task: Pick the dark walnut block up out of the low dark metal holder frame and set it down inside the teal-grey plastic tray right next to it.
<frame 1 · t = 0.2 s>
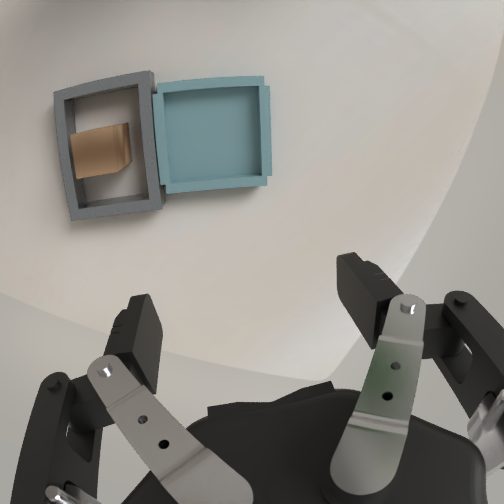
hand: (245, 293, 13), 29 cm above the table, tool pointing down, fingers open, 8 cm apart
holder: (111, 145, 35), on the table
walnut block: (103, 148, 32), in the holder
tray: (212, 132, 36), on the table
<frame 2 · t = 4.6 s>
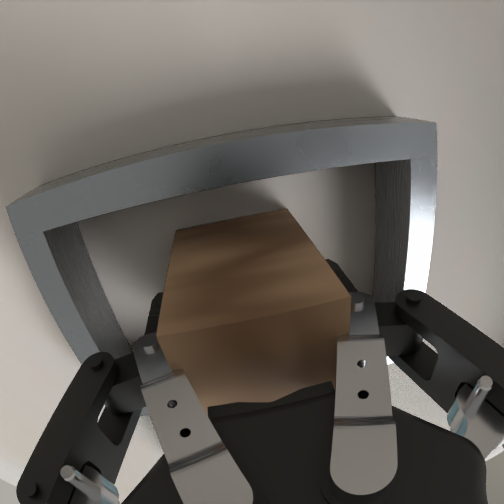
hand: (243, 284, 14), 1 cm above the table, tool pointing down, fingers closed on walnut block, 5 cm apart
holder: (240, 268, 15), on the table
walnut block: (251, 312, 12), in the holder, touching gripper
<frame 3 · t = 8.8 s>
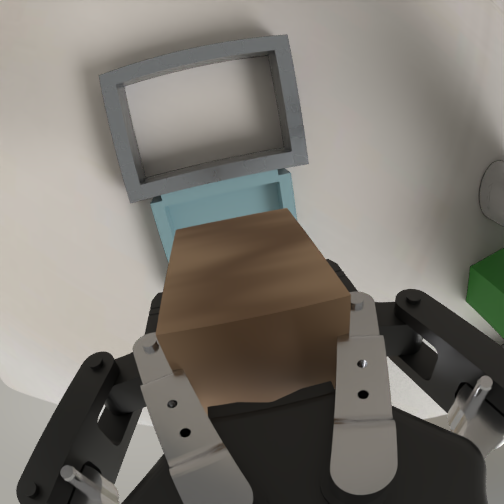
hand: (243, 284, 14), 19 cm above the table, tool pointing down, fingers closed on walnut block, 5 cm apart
holder: (204, 113, 27), on the table
walnut block: (250, 311, 12), point 21 cm above the table, touching gripper
hardback book: (498, 265, 43), on the table
tray: (230, 236, 33), on the table
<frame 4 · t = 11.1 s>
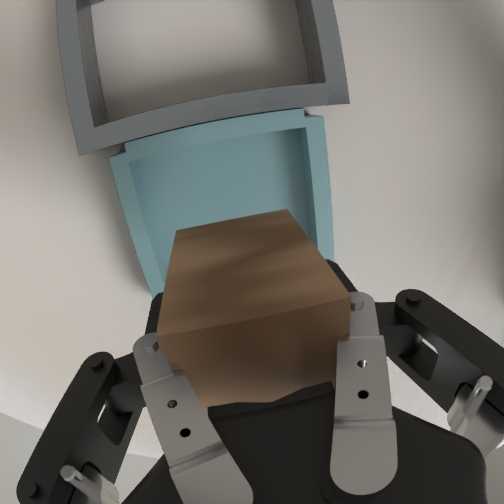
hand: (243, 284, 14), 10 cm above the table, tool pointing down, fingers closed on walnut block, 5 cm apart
holder: (197, 34, 17), on the table
walnut block: (250, 312, 12), point 12 cm above the table, touching gripper
tray: (230, 212, 22), on the table
when the fingers open (4 cm above the table, at t = 13.2 s): walnut block drops 1 cm, resting on tray.
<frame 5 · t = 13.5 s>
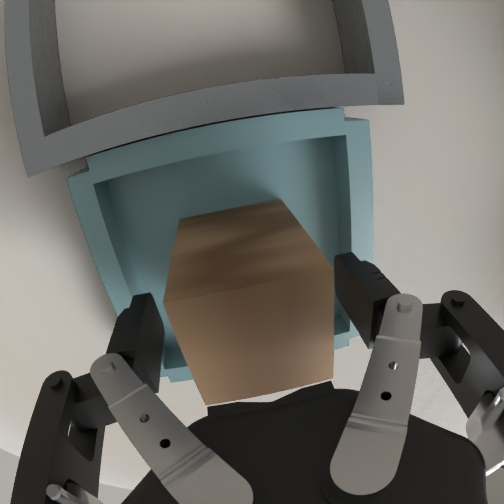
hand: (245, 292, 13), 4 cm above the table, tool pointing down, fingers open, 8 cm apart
holder: (191, 4, 11), on the table
walnut block: (247, 291, 13), in the tray, point 4 cm above the table
tray: (236, 248, 17), on the table
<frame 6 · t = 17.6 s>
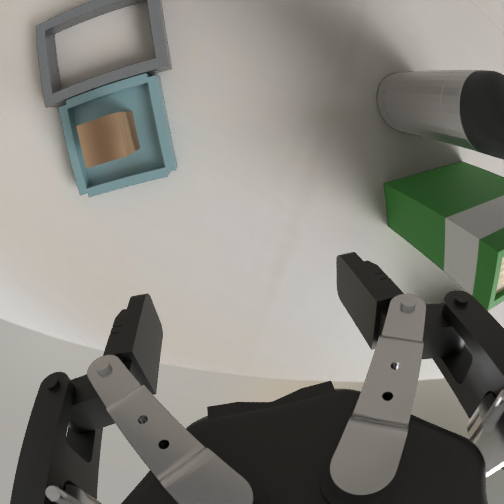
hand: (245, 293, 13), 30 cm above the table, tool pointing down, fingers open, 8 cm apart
holder: (103, 45, 30), on the table
walnut block: (110, 137, 32), in the tray, point 4 cm above the table
hardback book: (427, 191, 46), on the table
tray: (119, 134, 36), on the table
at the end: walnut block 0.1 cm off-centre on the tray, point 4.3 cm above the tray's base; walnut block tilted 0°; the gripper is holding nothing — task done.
